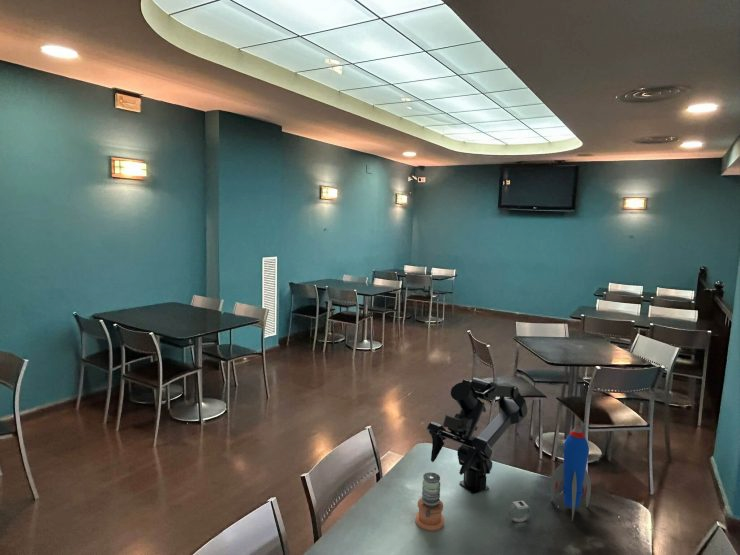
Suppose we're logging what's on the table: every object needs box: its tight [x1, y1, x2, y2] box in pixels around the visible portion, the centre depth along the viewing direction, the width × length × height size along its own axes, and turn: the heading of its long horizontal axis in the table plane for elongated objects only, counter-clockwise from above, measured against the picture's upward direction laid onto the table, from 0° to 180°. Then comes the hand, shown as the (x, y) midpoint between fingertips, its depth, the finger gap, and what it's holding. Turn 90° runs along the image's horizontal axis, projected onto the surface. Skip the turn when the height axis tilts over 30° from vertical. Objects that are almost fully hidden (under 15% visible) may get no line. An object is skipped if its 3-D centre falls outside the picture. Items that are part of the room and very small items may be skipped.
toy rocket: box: [549, 424, 592, 522], centre depth 125 cm, size 11×10×25 cm
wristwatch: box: [507, 500, 532, 523], centre depth 122 cm, size 6×3×5 cm, turn 101°
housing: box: [415, 497, 445, 532], centre depth 121 cm, size 8×8×5 cm
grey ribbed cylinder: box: [421, 472, 441, 508], centre depth 120 cm, size 5×5×8 cm
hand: (445, 467), depth 125 cm, fingers open, 9 cm apart
